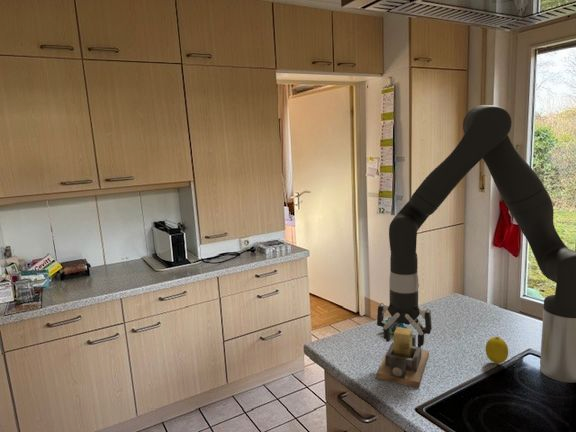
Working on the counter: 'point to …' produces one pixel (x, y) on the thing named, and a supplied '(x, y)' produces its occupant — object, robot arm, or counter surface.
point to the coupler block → (403, 342)
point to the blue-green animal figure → (394, 324)
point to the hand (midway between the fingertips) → (403, 343)
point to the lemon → (496, 350)
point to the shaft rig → (404, 366)
